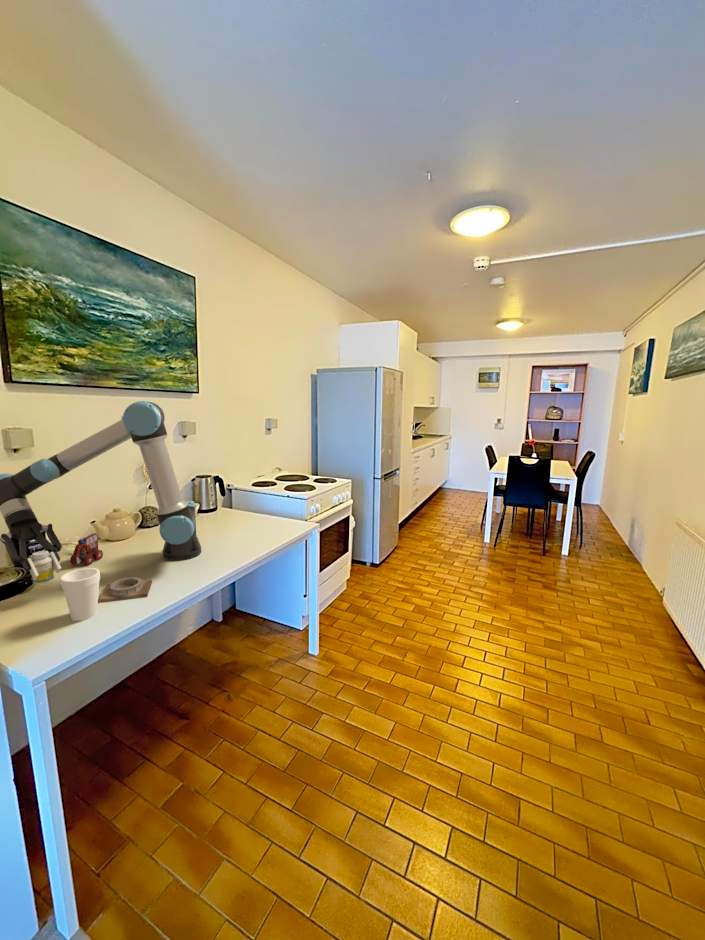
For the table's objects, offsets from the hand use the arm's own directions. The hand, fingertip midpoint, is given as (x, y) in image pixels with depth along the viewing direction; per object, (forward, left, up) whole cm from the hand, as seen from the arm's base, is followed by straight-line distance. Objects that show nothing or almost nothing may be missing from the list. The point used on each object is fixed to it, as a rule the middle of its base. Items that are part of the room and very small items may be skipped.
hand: (48, 574), depth 121 cm
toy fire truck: (-1, -33, -10) cm, 34 cm away
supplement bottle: (+2, -3, -4) cm, 5 cm away
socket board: (-21, -1, -9) cm, 23 cm away
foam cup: (-12, +12, -10) cm, 20 cm away
